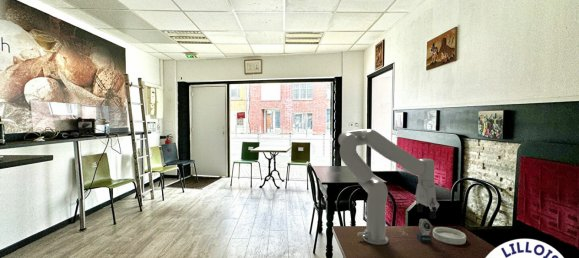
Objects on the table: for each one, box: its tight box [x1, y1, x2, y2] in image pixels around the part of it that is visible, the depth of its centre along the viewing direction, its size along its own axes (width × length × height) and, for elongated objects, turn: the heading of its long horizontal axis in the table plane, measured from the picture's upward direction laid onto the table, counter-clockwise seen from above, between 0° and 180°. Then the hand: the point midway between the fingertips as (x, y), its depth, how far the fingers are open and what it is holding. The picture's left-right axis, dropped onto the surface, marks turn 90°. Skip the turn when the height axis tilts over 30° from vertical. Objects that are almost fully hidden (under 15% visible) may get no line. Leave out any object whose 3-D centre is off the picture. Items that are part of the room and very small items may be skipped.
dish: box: [432, 226, 467, 246], centre depth 147 cm, size 15×15×3 cm
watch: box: [416, 218, 433, 243], centre depth 144 cm, size 6×8×11 cm
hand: (426, 215), depth 143 cm, fingers open, 9 cm apart
